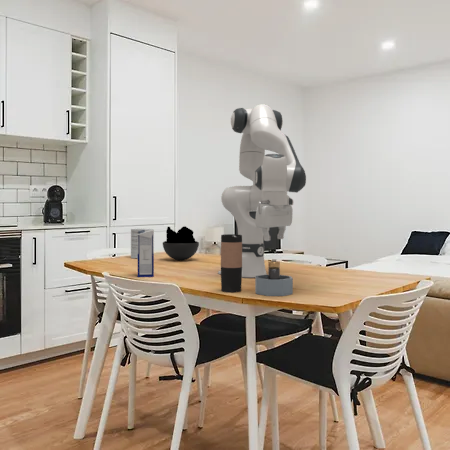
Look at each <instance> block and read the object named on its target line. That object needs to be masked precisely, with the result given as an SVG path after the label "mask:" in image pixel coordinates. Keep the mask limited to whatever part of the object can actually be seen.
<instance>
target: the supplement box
mask: <svg viewBox="0 0 450 450" xmlns="http://www.w3.org/2000/svg"><path fill="white" fill-rule="evenodd" d="M141 230H145V231H149V230H154V229H153V228H131V229H130V259H135V258H137V259H136V260H138V234H139V233H138V231H141Z"/></svg>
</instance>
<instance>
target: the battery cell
mask: <svg viewBox="0 0 450 450" xmlns="http://www.w3.org/2000/svg"><path fill="white" fill-rule="evenodd" d="M267 263H268V267H267V269H268V270H267V273H268V274H267V275H268V279H280V275H281V268H280V267H281V265H280V264H281V262H280V261H277V259H273V258H272V259H271V261H267Z"/></svg>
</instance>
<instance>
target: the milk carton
mask: <svg viewBox="0 0 450 450" xmlns="http://www.w3.org/2000/svg"><path fill="white" fill-rule="evenodd" d="M154 231H155V230H154V229H153V230H149V231H145V230H141V231H138V233H139V234H138V259H137V278H153V277H155V272H154V271H155V270H154V269H155V268H154V267H155V266H154V263H155V262H154V261H155V257H154V255H155V254H154V251H155V250H154V248H155V247H154V246H155V243H154V242H155V241H154V240H155V235H154V234H155V233H154Z"/></svg>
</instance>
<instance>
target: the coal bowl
mask: <svg viewBox="0 0 450 450" xmlns="http://www.w3.org/2000/svg"><path fill="white" fill-rule="evenodd" d="M165 235H166V240H165V241H163V242H162V248H163V250H164V252H165V254H166V255H167V256H168V257H170V259H173V260H175V261H180V260H181V261H186V260H189V259H191V258H192V257H193V256H195V255H196V253H197V252H198V250H199V247H200V242H198V240H196V239H195V237H194V231H193V230H192V229H190V228H188V227H187V226H185V225H184V226H182V227H181V228H180V229H178V230H177V232H176V231H175V230H173V229H171V227H170V226H167V228H166V234H165Z"/></svg>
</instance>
